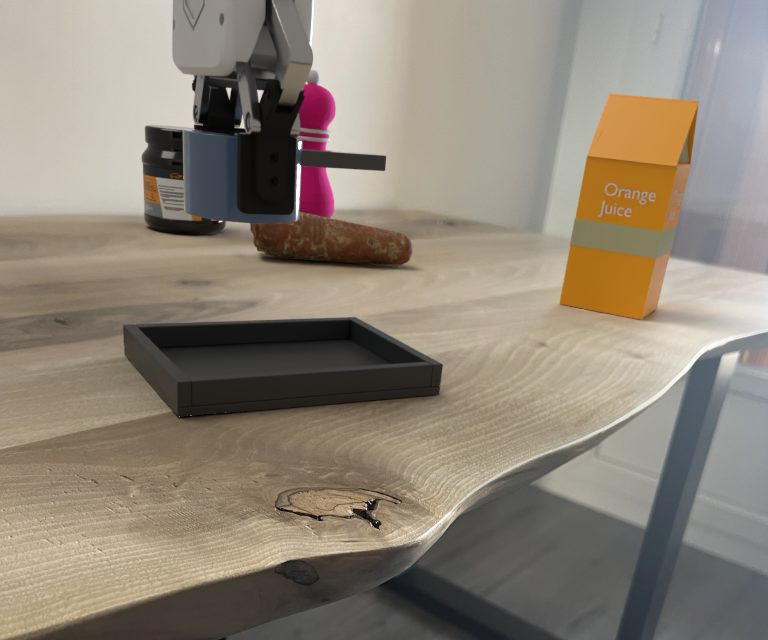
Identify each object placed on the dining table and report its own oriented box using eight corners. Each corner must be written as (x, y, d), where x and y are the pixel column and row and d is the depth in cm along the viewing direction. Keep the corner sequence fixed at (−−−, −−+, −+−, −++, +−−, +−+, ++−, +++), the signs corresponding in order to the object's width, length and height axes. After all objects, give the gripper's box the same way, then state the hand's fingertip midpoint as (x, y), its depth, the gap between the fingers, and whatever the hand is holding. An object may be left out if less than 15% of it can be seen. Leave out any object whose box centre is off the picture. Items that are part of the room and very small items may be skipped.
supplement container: (168, 236, 100) (165, 129, 95) (129, 223, 107) (125, 122, 102) (241, 235, 107) (243, 135, 102) (201, 222, 114) (200, 127, 108)
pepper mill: (319, 247, 104) (329, 70, 95) (268, 239, 106) (273, 65, 97) (340, 241, 110) (351, 74, 102) (291, 233, 112) (298, 69, 103)
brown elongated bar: (249, 250, 97) (250, 200, 94) (407, 263, 100) (412, 215, 97) (247, 259, 91) (248, 207, 89) (414, 273, 94) (420, 222, 92)
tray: (177, 418, 46) (177, 382, 45) (124, 355, 56) (122, 324, 55) (439, 394, 54) (443, 364, 53) (353, 343, 64) (355, 316, 63)
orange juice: (579, 294, 92) (618, 96, 83) (657, 308, 88) (707, 103, 80) (558, 304, 86) (597, 90, 77) (642, 320, 82) (693, 99, 73)
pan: (205, 222, 45) (204, 133, 43) (170, 205, 50) (168, 125, 48) (402, 226, 51) (409, 149, 49) (352, 211, 56) (357, 140, 54)
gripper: (127, -156, 46) (141, 184, 54) (233, -244, 32) (231, 226, 40) (254, -126, 49) (249, 189, 57) (396, -195, 36) (365, 228, 44)
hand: (241, 201), depth 49 cm, fingers closed on pan, 6 cm apart
